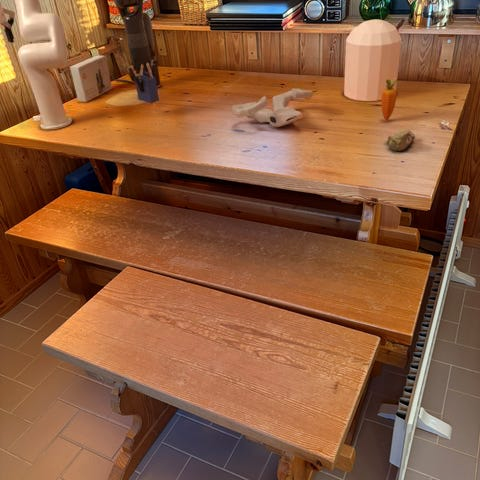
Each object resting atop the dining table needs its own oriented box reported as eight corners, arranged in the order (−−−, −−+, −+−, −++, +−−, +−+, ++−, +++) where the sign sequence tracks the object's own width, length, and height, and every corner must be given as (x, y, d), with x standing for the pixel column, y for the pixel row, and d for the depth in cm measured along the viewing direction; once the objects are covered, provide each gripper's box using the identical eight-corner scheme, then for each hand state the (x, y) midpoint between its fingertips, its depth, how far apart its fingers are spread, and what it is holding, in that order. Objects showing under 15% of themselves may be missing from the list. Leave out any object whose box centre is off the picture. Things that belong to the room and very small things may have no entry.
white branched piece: (230, 133, 167) (227, 101, 161) (244, 110, 188) (241, 81, 182) (308, 133, 161) (308, 99, 155) (313, 109, 182) (314, 78, 176)
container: (365, 104, 181) (370, 27, 165) (333, 91, 197) (335, 20, 181) (407, 93, 187) (416, 18, 171) (373, 81, 203) (378, 12, 188)
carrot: (394, 118, 167) (398, 76, 158) (393, 123, 163) (397, 80, 154) (379, 117, 168) (383, 75, 160) (378, 122, 165) (382, 80, 156)
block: (151, 103, 183) (146, 80, 178) (138, 99, 189) (134, 77, 183) (159, 100, 185) (155, 77, 180) (146, 97, 191) (142, 74, 186)
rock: (408, 140, 153) (379, 139, 152) (414, 122, 149) (384, 120, 148) (421, 154, 144) (391, 153, 143) (428, 135, 140) (396, 133, 139)
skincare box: (87, 102, 214) (77, 67, 204) (78, 102, 215) (68, 66, 206) (113, 88, 229) (105, 54, 220) (104, 88, 231) (96, 54, 222)
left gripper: (-53, -11, 129) (-28, 53, 139) (7, -20, 139) (27, 40, 148) (-61, -12, 134) (-36, 50, 144) (-2, -20, 143) (18, 38, 153)
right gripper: (127, 50, 169) (137, 96, 178) (158, 41, 176) (166, 86, 186) (116, 47, 173) (126, 93, 183) (147, 39, 181) (155, 83, 191)
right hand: (146, 89), depth 185 cm, fingers closed on block, 4 cm apart
